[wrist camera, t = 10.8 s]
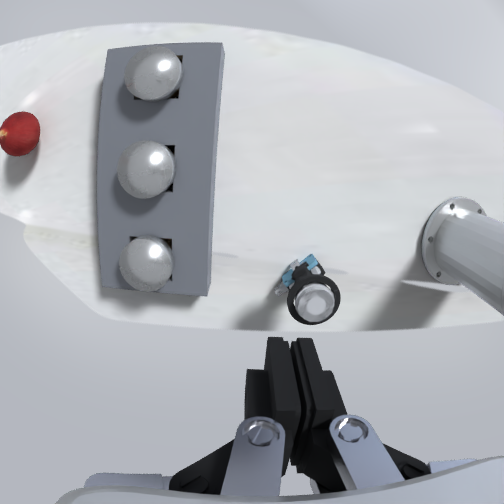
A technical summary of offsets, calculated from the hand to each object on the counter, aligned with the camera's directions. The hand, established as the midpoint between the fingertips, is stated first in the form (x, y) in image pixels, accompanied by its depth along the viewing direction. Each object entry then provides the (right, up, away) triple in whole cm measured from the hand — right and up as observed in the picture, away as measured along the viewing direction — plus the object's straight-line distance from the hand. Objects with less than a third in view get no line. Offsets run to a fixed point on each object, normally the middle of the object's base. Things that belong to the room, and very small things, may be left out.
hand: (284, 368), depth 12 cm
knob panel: (-12, +14, +24) cm, 30 cm away
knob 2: (-13, +5, +26) cm, 30 cm away
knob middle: (-12, +14, +23) cm, 30 cm away
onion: (-30, +20, +22) cm, 43 cm away
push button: (+4, +2, +28) cm, 28 cm away
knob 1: (-11, +24, +20) cm, 33 cm away
